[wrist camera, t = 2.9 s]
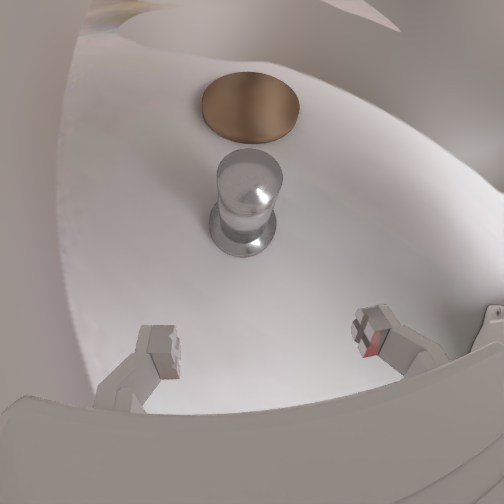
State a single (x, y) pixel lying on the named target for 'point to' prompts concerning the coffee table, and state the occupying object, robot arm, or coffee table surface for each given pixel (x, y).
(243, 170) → the knob
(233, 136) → the base disc
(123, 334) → the coffee table surface
